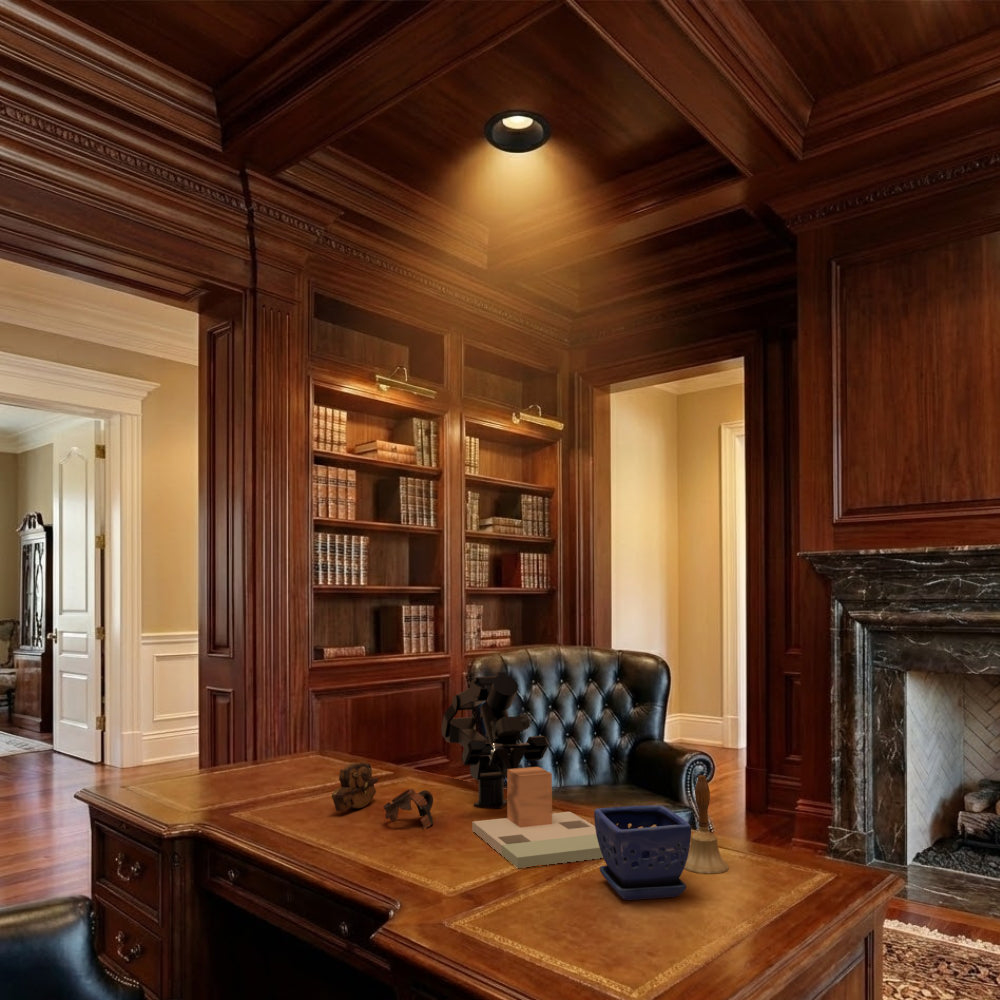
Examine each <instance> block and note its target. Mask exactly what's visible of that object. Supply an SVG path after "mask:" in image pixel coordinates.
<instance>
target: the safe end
mask: <svg viewBox="0 0 1000 1000" xmlns="http://www.w3.org/2000/svg"><path fill="white" fill-rule="evenodd" d="M502 856H503V858H504V857H505V858H506V859H507V860H508V861H510V862H511V863H512V864H513V865H515V866H516V867H517V868H523V867H529V866H537V865H546V864H547V866H550V865H549V864H555V865H558V864H557V863H563V864H568V863H567V862H571V863H577V862H576V861H579V862H585V861H584V860H587V861H593V860H592V859H595V860H601V859H600V858H603V855H602V853H601V850H600V847H599V843H598V840H597V835H596V834H593V835H584V836H575V837H566V838H558V839H549V840H540V841H531V842H523V843H514V844H505V845H502ZM502 856H501V857H502ZM505 858H504V859H505ZM506 859H505V860H506ZM603 859H604V858H603ZM507 860H506V861H507ZM508 861H507V862H508ZM510 862H509V863H510ZM511 863H510V864H511ZM512 864H511V865H512ZM513 865H512V866H513ZM516 867H515V868H516ZM517 868H516V869H517ZM523 869H524V868H523Z"/></svg>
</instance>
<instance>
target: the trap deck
mask: <svg viewBox="0 0 1000 1000" xmlns="http://www.w3.org/2000/svg"><path fill="white" fill-rule="evenodd" d="M471 826H472V827H471V828H472V831H473V832H475V833H476V834H477V835H478V836H480V837H481V838H482V839H483V840H484V841H485V842H486V844H487V843H488V844H489V845H490V846H491V847H492V848H491V849H493V850H494V849H495V850H496V851H497V852H498V853H497V852H496V851H495V850H494V851H495V852H496V853H497V854H499V853H500V854H501V855H502V845H505V844H514V843H523V842H531V841H540V840H549V839H558V838H566V837H575V836H584V835H593V834H596V829H595V824H592V823H590V822H589V821H587V820H585V819H583V818H582V817H580V816H579V815H576V814H575V813H573V812H571V811H564V812H561V811H560V812H554V813H553V812H552V824H548V825H539V826H529V827H519V826H517V825H516V824H514V823H513V822H511V821H510V820H509V819H507V817H504V818H494V819H493V818H492V819H486V820H475V821H472V825H471ZM473 832H472V833H473ZM475 833H474V834H475ZM476 834H475V835H476ZM477 835H476V836H477ZM478 836H477V837H478ZM481 838H480V839H481ZM482 839H481V840H482ZM483 840H482V841H483ZM484 841H483V842H484ZM485 842H484V843H485ZM488 844H487V845H488ZM489 845H488V846H489ZM490 846H489V847H490ZM500 854H499V855H500ZM501 855H500V856H501Z"/></svg>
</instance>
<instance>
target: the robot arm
mask: <svg viewBox="0 0 1000 1000" xmlns="http://www.w3.org/2000/svg"><path fill="white" fill-rule="evenodd" d="M469 683H470V684H469V685H470V686H469V688H468V687H467V689H465V690H464V691H461V692H459V693H456V694H455V695H453V696H452V697H453V698H452V702H451V704H450V706H449V707H448V708H447V709H446V710H445V712H444V713H443V718H442V722H441V736H442V737H443V738H444V740H445V741H446V742H447V743H451V744H460V746H462V747H463V748H464V749H463V750H462V754H461V755H462V757H461V759H462V763H463V765H464V766H469V772H470V777H471V778H473V779H474V780H476V781H478V800H476V802H474V803H473V807H477V806H478V807H479V808H480V807H481V808H489V809H490V808H491V809H501V808H503V807H504V806H505V805H506V804H507V798H506V799H504V779H506V780H507V769H516V768H520V766H519V764H521V762H522V761H523V758H525V759H526V760H527V761H528V762H529V761H540V760H542V759H543V758H544V756H545V753H546V752H547V750H548V747H549V742H548V739H547V737H546V736H545V735H544V736H543V735H535V736H532V735H531V736H528V738H527V739H526V742H521V743H517V741H519V740H520V737H521V736H520V735H521V734H520V733H523V732H524V731H526V730H528V729H529V728H530V726H531V723H530V718H529V716H528V713H519V714H518V715H516V716H509V713H508V709H509V708H510V709H511V707H512V704H513V701H514V699H515V697H516V695H517V692H518V691H519V684H518V682H517V681H516V679H513V677H511V676H508V675H507V672H506V671H497V672H496V674H495V676H490V675H489V676H475V677H473V679H472V680H471V681H470V682H469ZM479 705H481V706H480V713H479V714H480V719H483V724H484V726H485V729H486V733H485V736H483V734H481V733H480V732H478V731H477V730H478V725H479V719H478V717H477V715H476V712H475V707H477V706H479ZM468 710H471V713H472V714H471V716H470V717H469V716H468V717H455V716H456V715H457V714H458V711H468Z"/></svg>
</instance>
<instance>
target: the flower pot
mask: <svg viewBox="0 0 1000 1000" xmlns="http://www.w3.org/2000/svg"><path fill="white" fill-rule="evenodd" d="M593 812H594V813H593V816H594V826H595V829H596V835H597V840H598V843H599V847H600V850H601V853H602V855H603V860H604V862H605V864H606V865H602V866H600V867H599V872H600V873H601V875H602V877H603V878H604V879H605V880H606V881H607V883H608V884H609V885H610V886H611V888H612V889H613V890H614V891H615V892H616V893H617V894H618V895H619V896H620V897H621V898H622V899H623V900H626V901H632V900H633V901H634V900H635V901H636V900H647V899H650V900H651V899H661V898H663V899H664V898H675V897H678V896H680V895H682V893H684V891H686V889H687V884H686V883H685V882H684V881H682V879H681V878H680V877H681V876H682V875H683V871H684V870H685V869H684V867H685V864H686V861H687V858H688V853H689V849H690V845H691V836H692V826H691V825H690V823H688V822H687V821H686V820H685V819H684V818H682V817H681V816H680V815H678V814H677V813H676V812H674V811H673V810H671V809H669V808H668V807H666V806H664V805H660V804H659V805H658V804H656V805H655V804H654V805H650V804H649V805H630V806H629V805H628V806H617V807H616V806H614V807H601V808H595V809H594V811H593ZM629 825H630V827H629ZM654 825H655V826H654Z"/></svg>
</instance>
